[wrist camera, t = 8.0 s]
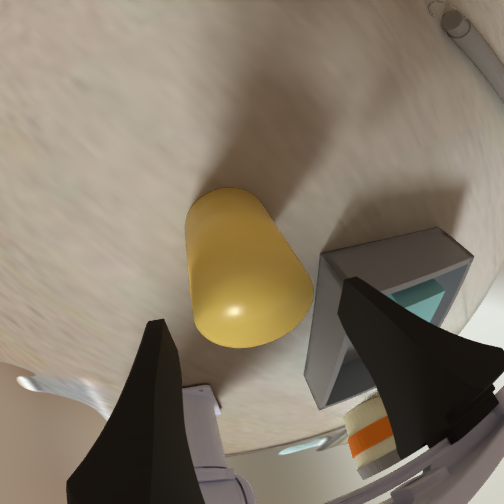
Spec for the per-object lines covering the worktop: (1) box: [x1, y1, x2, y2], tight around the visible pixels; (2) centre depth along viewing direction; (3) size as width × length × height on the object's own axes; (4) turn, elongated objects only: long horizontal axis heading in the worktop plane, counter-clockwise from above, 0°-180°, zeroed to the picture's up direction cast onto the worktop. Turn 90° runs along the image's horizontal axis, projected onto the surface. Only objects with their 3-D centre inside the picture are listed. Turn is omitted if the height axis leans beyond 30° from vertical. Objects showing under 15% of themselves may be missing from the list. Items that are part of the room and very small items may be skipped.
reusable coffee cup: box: [343, 397, 413, 480], centre depth 40 cm, size 13×13×15 cm
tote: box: [304, 227, 474, 410], centre depth 24 cm, size 17×13×5 cm
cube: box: [387, 278, 446, 323], centre depth 21 cm, size 5×5×5 cm
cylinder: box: [185, 188, 314, 348], centre depth 14 cm, size 5×5×7 cm
